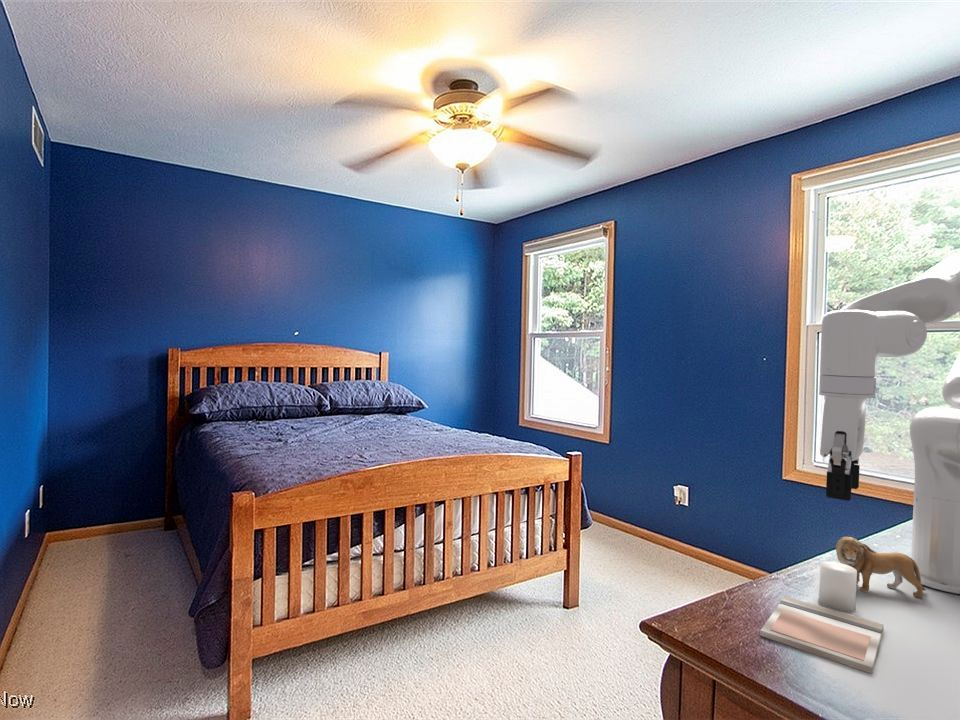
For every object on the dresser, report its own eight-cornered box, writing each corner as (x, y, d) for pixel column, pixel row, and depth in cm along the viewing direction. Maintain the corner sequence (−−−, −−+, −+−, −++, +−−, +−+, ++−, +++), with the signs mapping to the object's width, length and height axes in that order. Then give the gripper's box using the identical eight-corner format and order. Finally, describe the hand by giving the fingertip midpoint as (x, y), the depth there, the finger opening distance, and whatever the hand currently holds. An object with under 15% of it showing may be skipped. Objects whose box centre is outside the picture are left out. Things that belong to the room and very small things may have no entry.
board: (784, 600, 88) (785, 595, 88) (883, 629, 80) (883, 623, 80) (760, 635, 77) (760, 629, 77) (871, 673, 69) (872, 666, 69)
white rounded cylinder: (821, 594, 91) (823, 559, 91) (857, 603, 88) (858, 567, 88) (816, 604, 88) (817, 567, 88) (853, 614, 84) (854, 576, 84)
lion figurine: (844, 594, 92) (846, 541, 91) (826, 581, 97) (828, 531, 97) (936, 599, 91) (938, 546, 90) (913, 585, 96) (915, 535, 96)
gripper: (828, 384, 96) (824, 479, 96) (809, 387, 83) (805, 498, 83) (880, 386, 91) (876, 487, 91) (869, 391, 78) (865, 509, 78)
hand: (842, 492), depth 87 cm, fingers open, 9 cm apart
